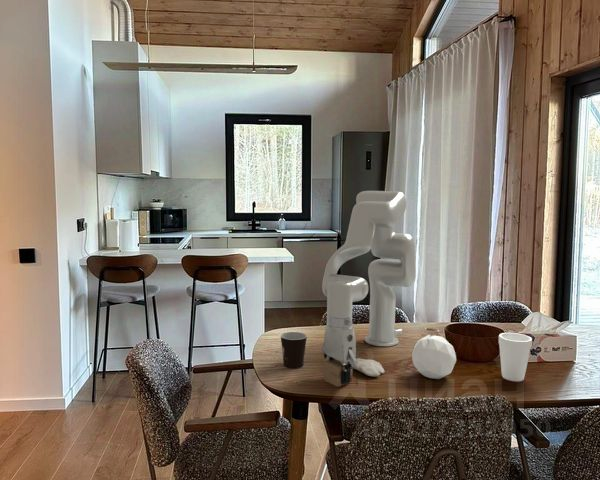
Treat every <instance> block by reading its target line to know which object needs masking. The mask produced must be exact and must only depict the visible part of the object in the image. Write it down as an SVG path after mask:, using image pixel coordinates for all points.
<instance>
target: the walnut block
mask: <svg viewBox="0 0 600 480" xmlns="http://www.w3.org/2000/svg"><path fill="white" fill-rule="evenodd" d="M345 364H346V366H347V362H345ZM341 371H343V369H342V364H341V361H339V360H337V359H333V360H329V361H326V360H325V361H324V370H323V373H324V374H323V376H324V380H323V381H324V382H326V381H327V383H328V382H329V383H328V384H330V383H331V384H330V385H332V384H333V385H332V386H334V385H335V386H334V387H336V386H337V387H336V388H339V387H341V386H340V385H343V386H345V385H344V384H341ZM350 382H352V383H353V368H352V370H351V372H350ZM350 382H349V384H351V383H350ZM346 385H348V384H347V383H346ZM338 386H339V387H338Z"/></svg>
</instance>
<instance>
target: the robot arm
mask: <svg viewBox="0 0 600 480" xmlns="http://www.w3.org/2000/svg"><path fill="white" fill-rule="evenodd" d="M355 201H356V204H354V206H353V208H352V211H351V214H350V220H349V223H348V229H347V233H346V239H345V241H344V244H343V245H341V246H340V247H339V248H338V249H337V250H336V251H335V252H334V253H333V254H332V255H331V257H330V258H329V259H328V260H327V263H326V266H325V270H324V274H323V279H322V283H321V284H322V285H321V290H322V292H323V295H324V296H325V297H326V299H327V300H326V305H327V306H326V326H325V329H324V338H323V345H322V347H321V352H322V353H323V357H324V358H325V361H329V360H333V359H337V360H339V361H341V364H342V369H343V371H341V384H346V383H349V382H350V372H351V370H352V368H353V367H354V366H355V365H356V364H357V363H358V361H357V358H356V357H357V347H356V344H357V343H356V335H355V334H356V333H355V329H354V327H353V303H355V302H360V301H363V300H364V299H365V298H366V297H367V295H368V293H369V296H370V297H369V325H368V327H369V330H368V334H367V335H366V336H365V338H364V341H365V343H367V344H368V345H372V346H376V347H394V346H396V345H398V344H399V339H398V337H397V336H398V335H401V334H402V333H403V332H404V331H403V329H402V328H397V329H396V328H395V326H396V325H395V324H396V323H395V322H396V299H397V298H396V295H395V294H396V293H395V292H394V290H393V289H392V287H401V288H409V287H412V286H414V284H415V281H416V277H417V275H416V274H417V271H416V269H417V267H416V246H415V240H414V238H413V236H412V235H411V234H409V233H404V232H403V233H402V232H401V233H399V232H395V231H394V227H395V226H396V224H397V223H398V222H399V220H400V219H401V218H402V217H403V215H404V214H405V213H406V212H405V211H406V210H407V197H406V195H405V194H404V193H403V192H402V191H395V190H393V191H390V190H387V191H386V190H385V191H384V190H364V191H360V192H359V193H357V195H356V198H355ZM369 252H371V254H372V256H373V257H377V258H379V259H374V260H373V261H371V262H370V263H369V265H368V270H367V273H368V279H369V280H368V281H369V284H368V281H367V280H366V279H365V278H363V277H361V276H354V275H353V276H352V275H344V274H338V271H339V269H340V268H341V266H342V265H343V264H345V263H346V262H348V261H350V260H352V259H354V258H357V257H359V256H362V255H365V254H367V253H369ZM345 362H347V366H346V364H345ZM349 384H350V383H349ZM346 385H347V384H346Z"/></svg>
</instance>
